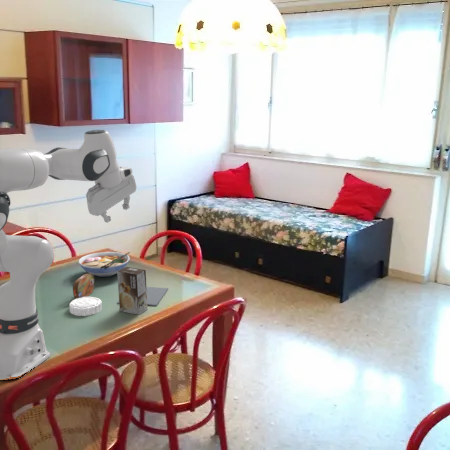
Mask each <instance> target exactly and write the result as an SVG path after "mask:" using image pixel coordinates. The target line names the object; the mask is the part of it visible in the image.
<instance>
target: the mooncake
mask: <svg viewBox="0 0 450 450" xmlns="http://www.w3.org/2000/svg"><path fill="white" fill-rule="evenodd" d="M102 303H103V301H102V300H101V299H100V298H98V297H95V296H88V297H82V298H77V299H75V298H74V299H73V300H72V301H70V302H69V305H68V306H69V313H71V315H74V316H78V317H81V316H82V317H86V316H91V315H95V314H98V313H99V312H101V311H102V309H103V304H102Z"/></svg>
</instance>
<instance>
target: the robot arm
mask: <svg viewBox="0 0 450 450" xmlns="http://www.w3.org/2000/svg"><path fill="white" fill-rule="evenodd" d="M83 134H84V136H83V137H84V139H83V142H82V145H81V146H80V147H79V148H68V147H67V148H65V147H55V148H52V149H51V150H49V151H48V152H45V153H43V152H42V151H40V150H38V149H33V148H27V147H9V148H2V149H0V272H3V273H5V272H6V273H7V272H8V273H9V275H10V278H9V280H8V281H6V282H5V283H3V284H1V285H0V379H5V378H10V377H9V376H11V377H18V376H21V375H22V374H24V373H26V372H28V371H29V372H30V370H31V369H32V370H34V369H35V368H36V367H37V366H39V365H40V364H41V363H43V362H44V361H46V360H47V359H48V358H50V357H51V353H50V351H48V350H47V346H46V342H45V336H44V331H43V330H42V329H41V327H40V325H39V320H40V319H39V317H40V316H39V312H38V309H37V307H36V285H37V283H38V280H39V278H40V276H41V275H42V274H43V273H45V272H46V271H47V270H48V269H49V268H50V267H51V266H52V264H53V262H54V258H55V252H54V251H55V250H54V247H53V245H52V243H51V242H50V241H49V240H47V239H45V238H41V237H39V236H34V235H33V236H32V235H13V234H12V235H11V234H6V232H5V231H4V230H3V229H4V227H5V225H7V222H8V220H9V215H10V206H11V198H10V196H9V195H8V193H10V192H18V191H19V192H21V191H28V190H33V189H35V188H38V187H42V186H43V185H44V184H45V183H46V182H47V180H48V177H50V178H52V179H54V180H57V181H58V180H59V181H62V180H63V181H66V180H68V181H80V182H94V185H93V186H92V187H89V188H88V190H87V192H86V194H85V196H86V204H87V209H88V213H89V214H90V215H92V216H94V217H95V216H96V217H99V216H101V217H102V218H103V222H105V223H109V222H111V221H112V219H111V215H107V214H108V213H107V211H109V209H111V208H113V207H114V206H116V205H118V204H119V203H120V202H123V204H121V207H122V209H123V210H125V211H127V210H128V209H130V200H131V197H130V196H131V195H132V194H134V193H135V192H136V191H137V183H136V180H135V177H134V174H133V169H132V167H128V166H121V165H119V163H118V160H117V152H116V149H115V144H114V142H113V141H114V140H113V138H112V136H111V134H110V131H108V130H106V129H93V130H88V131H85V132H84V133H83ZM34 367H35V368H34ZM33 368H34V369H33ZM32 370H31V371H32ZM29 372H28V373H29Z"/></svg>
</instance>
